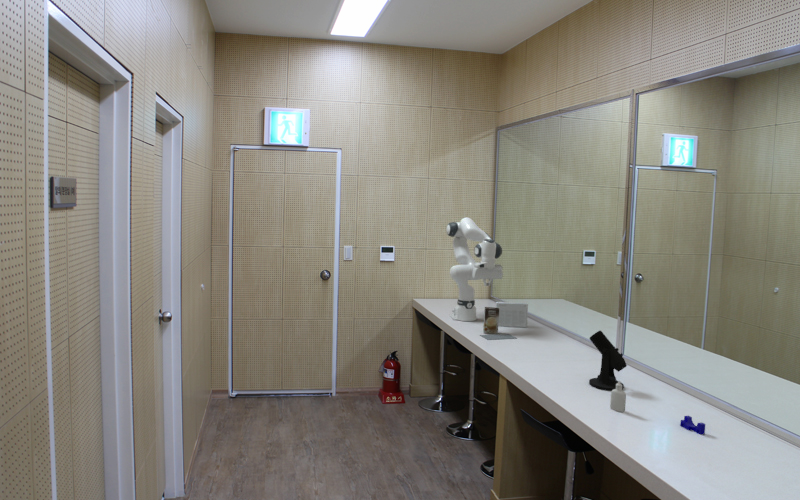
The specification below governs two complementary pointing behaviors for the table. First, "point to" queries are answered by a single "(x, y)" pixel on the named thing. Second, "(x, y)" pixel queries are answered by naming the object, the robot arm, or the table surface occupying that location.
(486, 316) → the coffee box
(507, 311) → the skincare box
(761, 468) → the table surface
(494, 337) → the mat
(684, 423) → the cable holder
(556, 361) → the table surface
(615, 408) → the eye dropper bottle
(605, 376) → the microphone
